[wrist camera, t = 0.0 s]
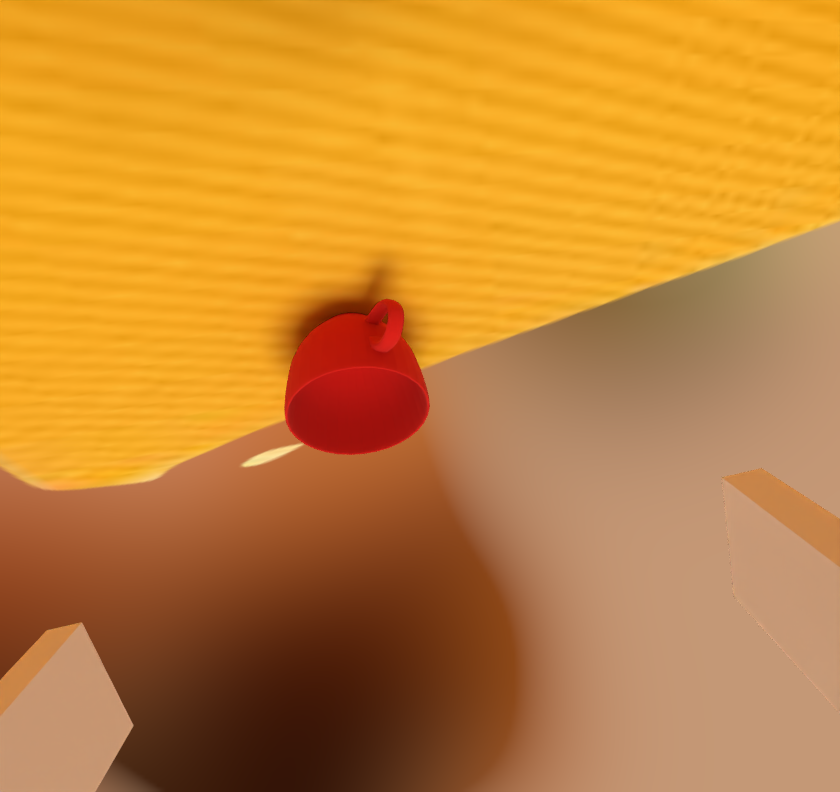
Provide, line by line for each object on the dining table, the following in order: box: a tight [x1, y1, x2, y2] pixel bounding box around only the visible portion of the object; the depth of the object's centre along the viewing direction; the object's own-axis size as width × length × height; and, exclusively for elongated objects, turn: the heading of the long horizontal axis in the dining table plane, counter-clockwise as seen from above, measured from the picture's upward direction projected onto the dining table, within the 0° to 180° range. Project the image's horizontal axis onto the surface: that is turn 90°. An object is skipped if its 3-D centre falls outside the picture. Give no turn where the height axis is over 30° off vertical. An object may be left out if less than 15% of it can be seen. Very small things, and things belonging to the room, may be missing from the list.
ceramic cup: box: [285, 299, 430, 455], centre depth 50 cm, size 13×17×10 cm
